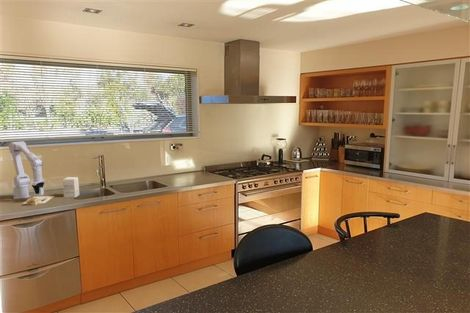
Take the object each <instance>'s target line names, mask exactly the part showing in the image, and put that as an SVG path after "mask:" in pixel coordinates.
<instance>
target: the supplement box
mask: <svg viewBox="0 0 470 313" xmlns="http://www.w3.org/2000/svg"><path fill="white" fill-rule="evenodd" d="M62 186H63V189H62V190H63V198H77V197H78V196H80V184H79V177H78V176H72V177H71V176H67V177H65V178H63V179H62Z"/></svg>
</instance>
